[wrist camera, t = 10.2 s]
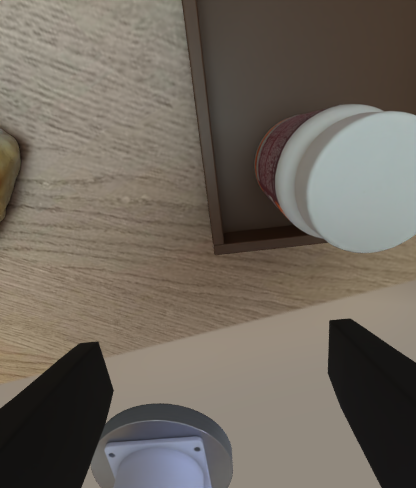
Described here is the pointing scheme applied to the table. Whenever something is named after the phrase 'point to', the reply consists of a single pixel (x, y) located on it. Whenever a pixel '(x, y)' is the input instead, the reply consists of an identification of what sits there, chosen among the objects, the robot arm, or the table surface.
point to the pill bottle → (344, 175)
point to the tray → (285, 91)
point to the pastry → (7, 169)
